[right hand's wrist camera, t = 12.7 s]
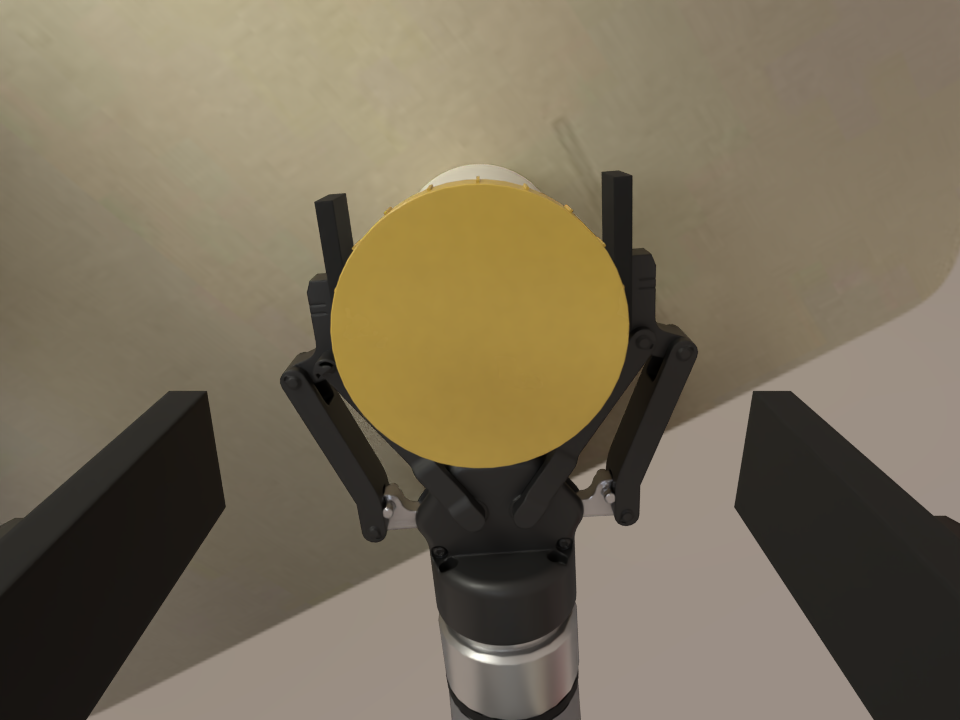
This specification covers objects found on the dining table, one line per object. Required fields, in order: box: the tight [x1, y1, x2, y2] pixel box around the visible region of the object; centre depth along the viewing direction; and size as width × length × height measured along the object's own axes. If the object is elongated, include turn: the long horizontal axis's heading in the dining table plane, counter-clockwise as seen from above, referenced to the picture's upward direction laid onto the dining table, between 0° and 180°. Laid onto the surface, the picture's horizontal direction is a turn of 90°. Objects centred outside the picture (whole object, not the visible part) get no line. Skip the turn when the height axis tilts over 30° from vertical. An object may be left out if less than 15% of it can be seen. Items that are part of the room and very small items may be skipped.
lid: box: [330, 176, 629, 468], centre depth 21 cm, size 9×9×2 cm
